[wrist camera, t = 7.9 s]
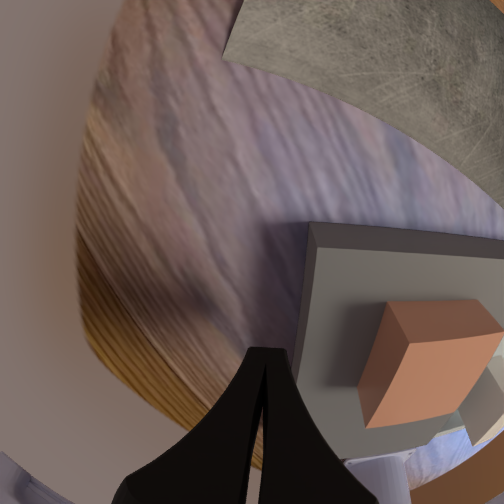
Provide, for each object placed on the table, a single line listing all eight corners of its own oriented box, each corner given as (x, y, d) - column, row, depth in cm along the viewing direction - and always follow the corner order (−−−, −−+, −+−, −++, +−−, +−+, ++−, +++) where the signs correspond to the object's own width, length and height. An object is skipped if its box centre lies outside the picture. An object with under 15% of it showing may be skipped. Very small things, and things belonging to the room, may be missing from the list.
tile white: (454, 402, 15) (473, 396, 15) (472, 446, 11) (492, 437, 10) (482, 359, 13) (501, 354, 13) (510, 406, 9) (528, 397, 9)
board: (418, 417, 17) (426, 444, 14) (280, 428, 18) (278, 460, 15) (502, 240, 11) (533, 261, 8) (309, 221, 12) (317, 247, 9)
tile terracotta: (439, 378, 11) (454, 411, 9) (356, 387, 11) (365, 428, 9) (477, 299, 9) (505, 331, 7) (387, 301, 9) (409, 343, 7)
